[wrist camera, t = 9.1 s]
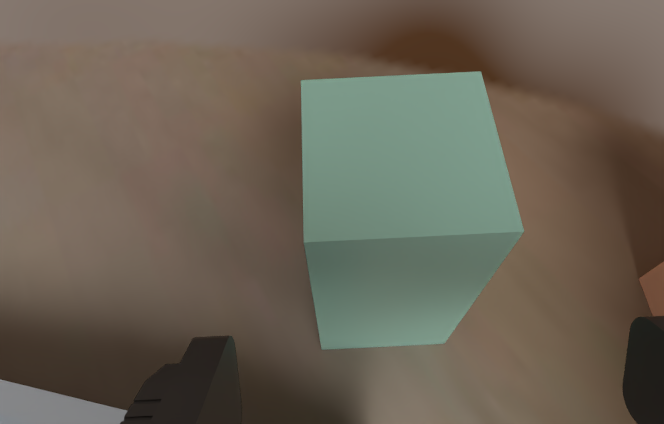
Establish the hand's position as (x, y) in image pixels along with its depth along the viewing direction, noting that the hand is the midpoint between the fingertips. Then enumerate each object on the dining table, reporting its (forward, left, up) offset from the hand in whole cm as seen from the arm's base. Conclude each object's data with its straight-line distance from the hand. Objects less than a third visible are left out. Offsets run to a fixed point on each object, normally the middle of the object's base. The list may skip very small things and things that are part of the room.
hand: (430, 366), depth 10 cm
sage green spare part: (-1, +5, -10) cm, 11 cm away
